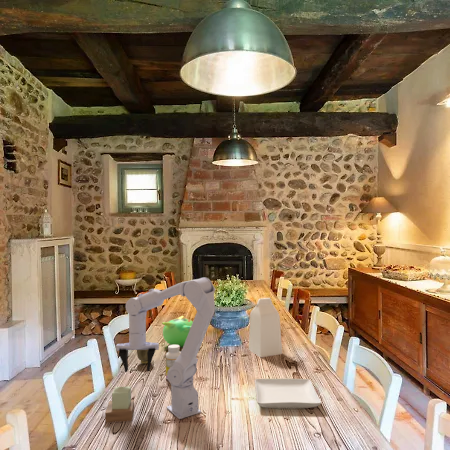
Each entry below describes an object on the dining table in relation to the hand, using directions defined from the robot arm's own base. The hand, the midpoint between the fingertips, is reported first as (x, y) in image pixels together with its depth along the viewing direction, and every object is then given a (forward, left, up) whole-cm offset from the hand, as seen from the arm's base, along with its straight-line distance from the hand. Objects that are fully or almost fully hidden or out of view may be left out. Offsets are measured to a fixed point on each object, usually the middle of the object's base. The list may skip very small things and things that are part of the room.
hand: (137, 370), depth 133 cm
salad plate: (-28, -44, -11) cm, 53 cm away
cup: (+34, -17, -11) cm, 39 cm away
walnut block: (-7, +9, -11) cm, 16 cm away
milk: (+15, -71, -11) cm, 73 cm away
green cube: (-7, +8, -7) cm, 13 cm away
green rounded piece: (+48, -42, -11) cm, 64 cm away
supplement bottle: (+11, -20, -11) cm, 25 cm away
